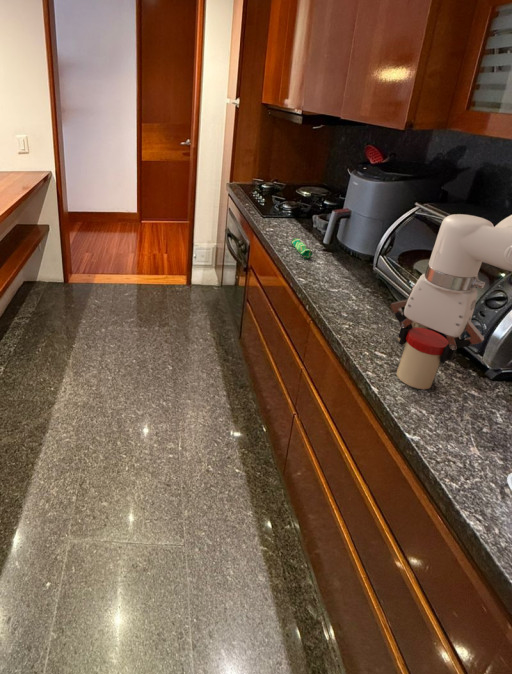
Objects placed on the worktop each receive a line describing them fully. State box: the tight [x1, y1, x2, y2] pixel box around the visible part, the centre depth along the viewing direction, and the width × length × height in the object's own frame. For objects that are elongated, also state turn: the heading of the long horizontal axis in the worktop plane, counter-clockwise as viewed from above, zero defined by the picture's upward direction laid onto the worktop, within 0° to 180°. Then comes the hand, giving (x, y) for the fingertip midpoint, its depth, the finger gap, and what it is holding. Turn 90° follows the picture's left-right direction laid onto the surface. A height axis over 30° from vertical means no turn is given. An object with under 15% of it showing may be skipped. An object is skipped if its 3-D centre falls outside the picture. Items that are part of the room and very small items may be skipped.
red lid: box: [406, 328, 448, 355], centre depth 81 cm, size 7×7×2 cm
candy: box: [290, 237, 313, 260], centre depth 148 cm, size 12×3×4 cm
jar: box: [396, 342, 442, 390], centre depth 83 cm, size 6×6×11 cm
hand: (423, 350), depth 82 cm, fingers closed on red lid, 6 cm apart
